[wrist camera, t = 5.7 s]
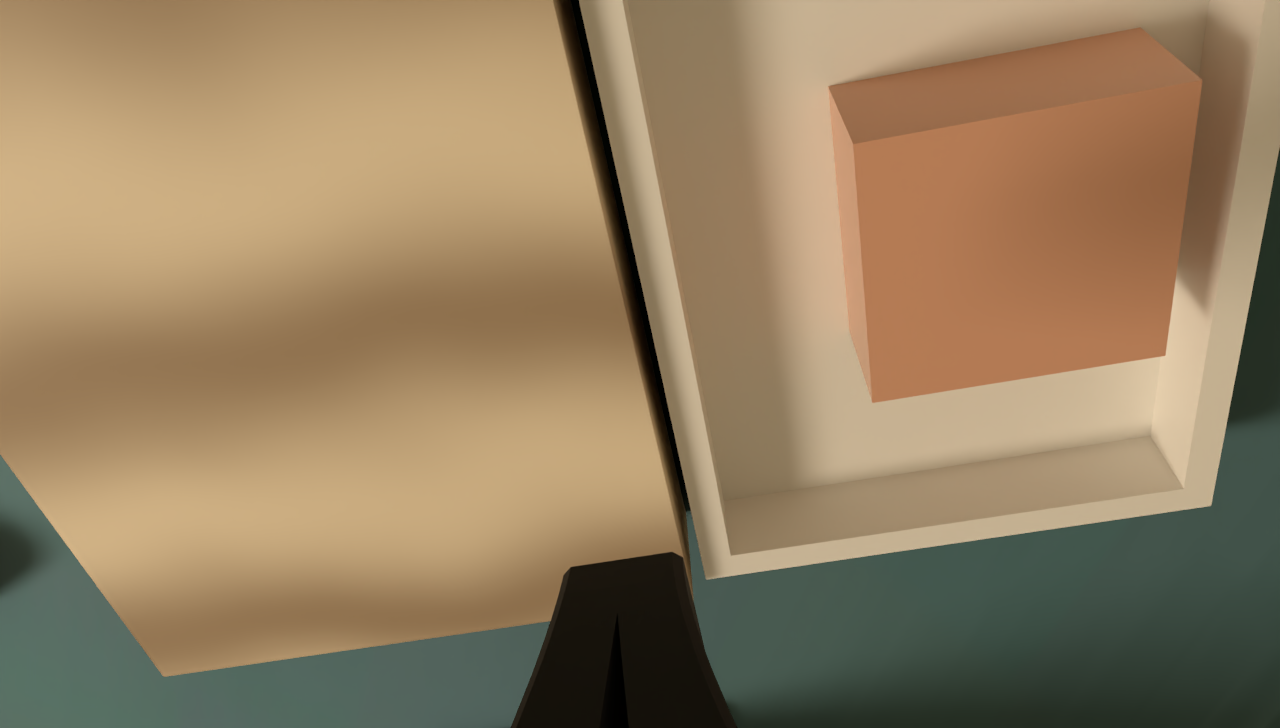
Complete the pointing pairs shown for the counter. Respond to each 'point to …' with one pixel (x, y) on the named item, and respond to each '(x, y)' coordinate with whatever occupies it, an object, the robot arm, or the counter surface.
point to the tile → (1013, 211)
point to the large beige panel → (320, 318)
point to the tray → (816, 295)
